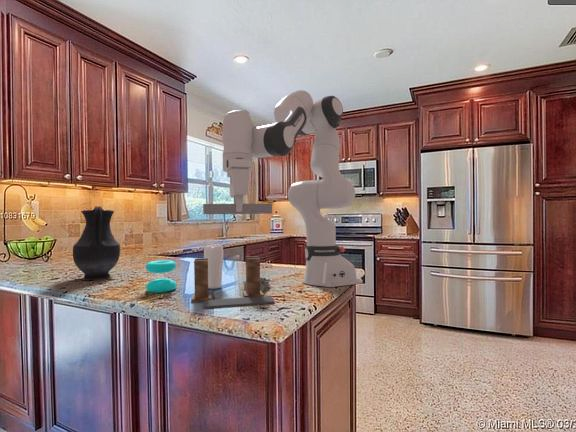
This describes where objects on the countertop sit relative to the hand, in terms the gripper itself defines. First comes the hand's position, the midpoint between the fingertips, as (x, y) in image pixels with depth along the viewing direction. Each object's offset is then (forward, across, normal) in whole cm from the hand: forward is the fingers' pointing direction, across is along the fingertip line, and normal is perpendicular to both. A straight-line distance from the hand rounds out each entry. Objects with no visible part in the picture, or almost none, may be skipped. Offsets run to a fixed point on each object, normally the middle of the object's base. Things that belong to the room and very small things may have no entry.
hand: (238, 211), depth 99 cm
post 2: (+27, -7, +5) cm, 28 cm away
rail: (+1, 0, 0) cm, 1 cm away
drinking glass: (+27, -23, -7) cm, 36 cm away
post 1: (+27, -7, -11) cm, 30 cm away
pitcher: (+27, -54, -54) cm, 81 cm away
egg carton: (+28, -17, +8) cm, 34 cm away
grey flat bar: (+27, 0, 0) cm, 27 cm away
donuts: (+27, -24, -25) cm, 44 cm away
